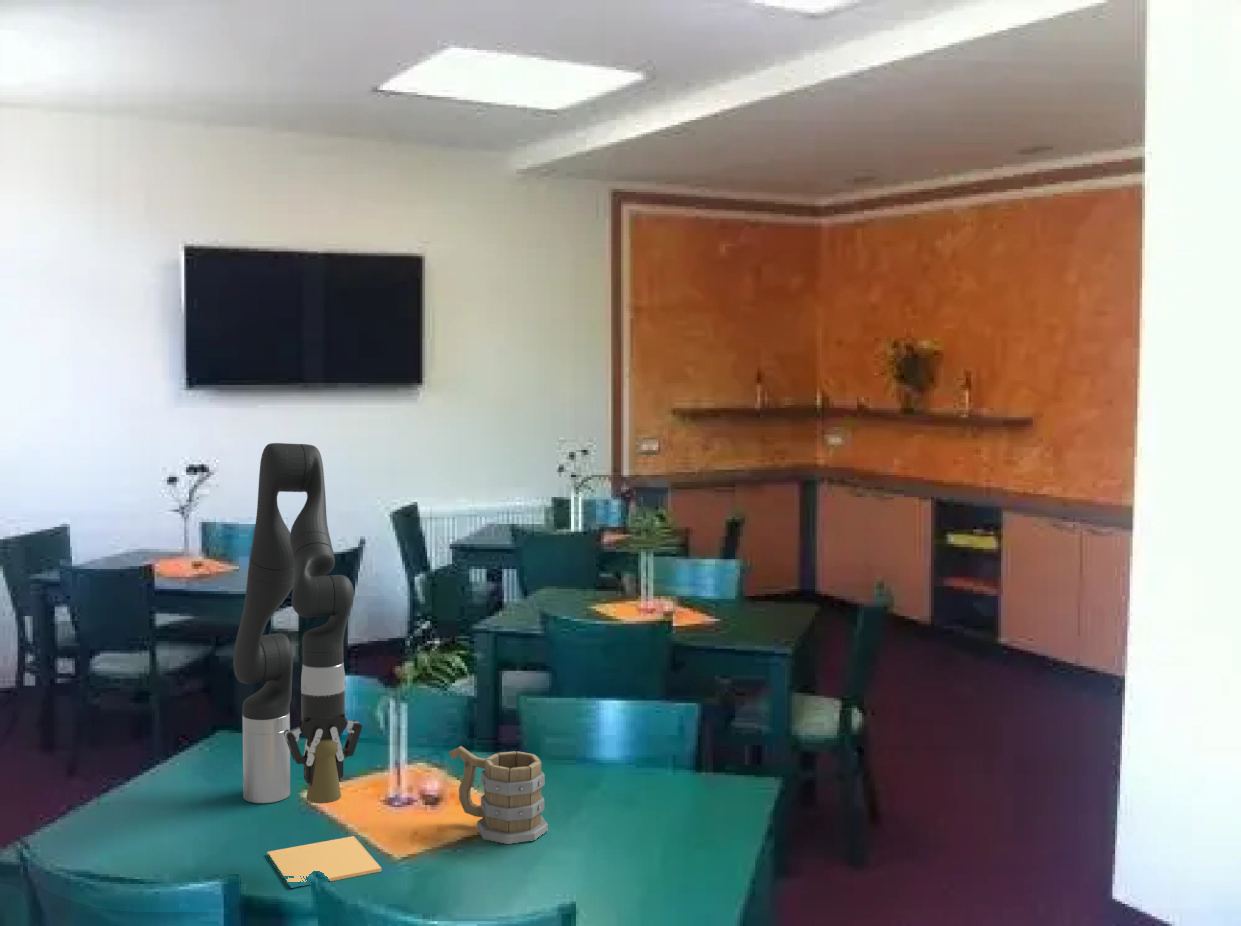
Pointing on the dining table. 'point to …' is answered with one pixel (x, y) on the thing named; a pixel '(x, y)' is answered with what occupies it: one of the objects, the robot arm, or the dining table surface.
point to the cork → (324, 774)
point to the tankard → (505, 795)
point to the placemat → (325, 860)
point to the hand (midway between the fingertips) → (323, 782)
